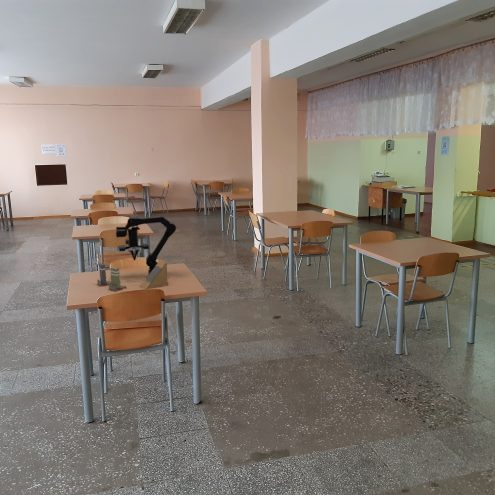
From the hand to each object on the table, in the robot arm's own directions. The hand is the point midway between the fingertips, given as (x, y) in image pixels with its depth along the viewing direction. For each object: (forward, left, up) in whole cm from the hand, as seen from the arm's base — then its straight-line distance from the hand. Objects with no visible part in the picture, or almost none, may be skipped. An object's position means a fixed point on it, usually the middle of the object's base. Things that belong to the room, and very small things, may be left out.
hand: (134, 260), depth 307 cm
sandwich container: (-8, +22, -12) cm, 27 cm away
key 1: (+21, +8, -11) cm, 25 cm away
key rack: (+16, +15, -12) cm, 25 cm away
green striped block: (+14, +21, -11) cm, 28 cm away
